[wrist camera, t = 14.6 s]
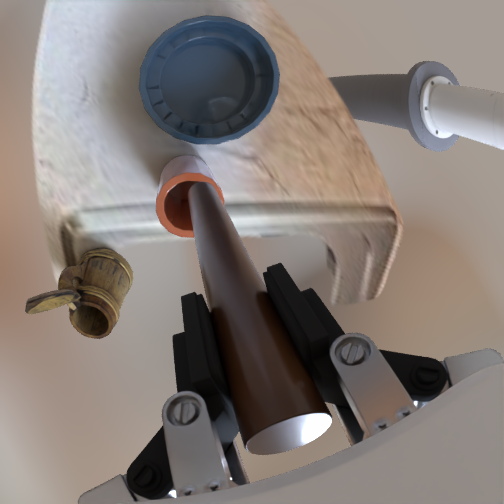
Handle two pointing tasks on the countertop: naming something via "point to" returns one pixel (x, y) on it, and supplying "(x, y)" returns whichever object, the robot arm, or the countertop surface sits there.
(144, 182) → the countertop surface
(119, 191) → the countertop surface
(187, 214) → the holder
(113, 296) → the wooden mug
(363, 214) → the countertop surface
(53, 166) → the countertop surface
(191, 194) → the stick
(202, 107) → the bowl
